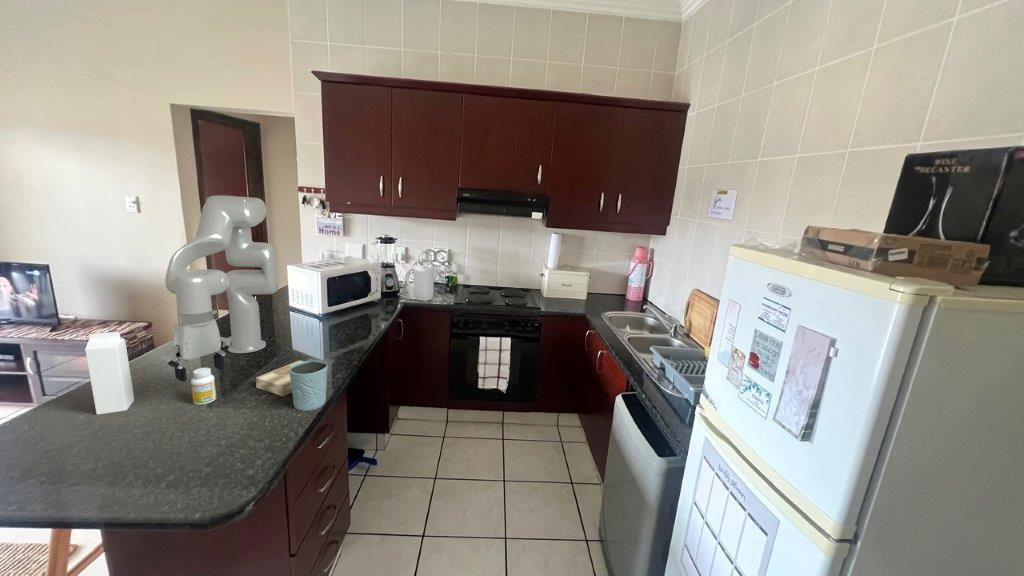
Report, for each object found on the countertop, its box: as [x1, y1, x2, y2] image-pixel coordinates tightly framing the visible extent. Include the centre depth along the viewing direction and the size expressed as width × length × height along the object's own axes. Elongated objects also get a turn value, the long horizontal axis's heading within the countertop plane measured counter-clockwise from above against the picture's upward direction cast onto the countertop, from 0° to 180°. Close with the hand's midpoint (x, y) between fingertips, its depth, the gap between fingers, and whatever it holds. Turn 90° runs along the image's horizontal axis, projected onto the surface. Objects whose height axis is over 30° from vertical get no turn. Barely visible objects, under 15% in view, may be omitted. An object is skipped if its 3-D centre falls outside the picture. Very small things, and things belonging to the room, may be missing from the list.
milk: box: [84, 331, 135, 415], centre depth 103 cm, size 6×6×22 cm
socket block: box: [255, 359, 305, 397], centre depth 126 cm, size 12×16×4 cm
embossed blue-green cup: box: [289, 359, 329, 412], centre depth 114 cm, size 10×10×12 cm
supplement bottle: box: [190, 367, 217, 406], centre depth 111 cm, size 5×5×10 cm
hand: (201, 374), depth 109 cm, fingers open, 9 cm apart
